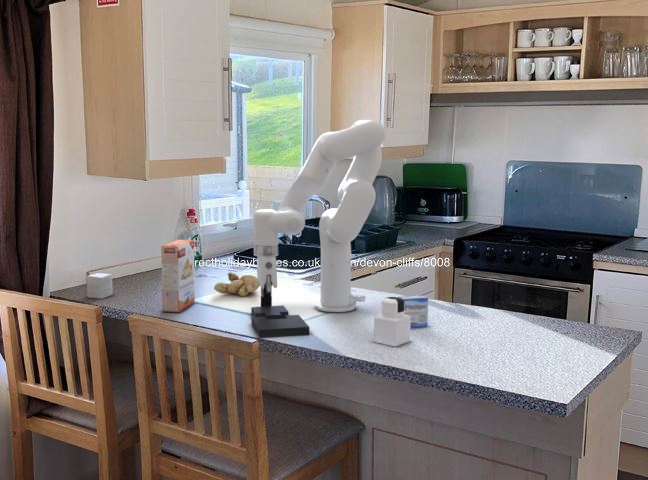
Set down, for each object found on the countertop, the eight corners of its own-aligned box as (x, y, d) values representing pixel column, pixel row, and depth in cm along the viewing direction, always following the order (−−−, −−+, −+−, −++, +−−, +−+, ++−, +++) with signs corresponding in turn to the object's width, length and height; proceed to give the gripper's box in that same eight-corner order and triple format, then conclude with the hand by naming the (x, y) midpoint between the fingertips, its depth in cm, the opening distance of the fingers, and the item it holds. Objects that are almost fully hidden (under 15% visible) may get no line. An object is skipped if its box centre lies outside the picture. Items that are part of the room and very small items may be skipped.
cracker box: (180, 313, 234) (178, 246, 231) (161, 312, 236) (159, 245, 232) (196, 302, 248) (194, 239, 244) (179, 302, 249) (177, 238, 245)
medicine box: (402, 328, 217) (402, 299, 216) (396, 325, 222) (397, 295, 220) (427, 327, 219) (428, 297, 218) (421, 323, 224) (422, 294, 222)
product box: (98, 293, 261) (97, 272, 259) (113, 295, 259) (112, 274, 257) (87, 297, 255) (86, 276, 254) (102, 299, 253) (101, 277, 252)
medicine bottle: (388, 336, 209) (389, 294, 207) (410, 341, 205) (411, 297, 203) (373, 342, 204) (374, 298, 202) (395, 347, 200) (396, 302, 197)
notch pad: (298, 321, 225) (298, 314, 224) (309, 334, 211) (309, 326, 211) (251, 324, 221) (251, 317, 221) (259, 337, 208) (259, 329, 208)
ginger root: (271, 285, 268) (268, 264, 265) (257, 306, 254) (254, 284, 251) (229, 284, 272) (226, 263, 269) (213, 304, 258) (210, 283, 255)
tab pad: (283, 312, 236) (283, 305, 236) (290, 321, 225) (290, 314, 225) (251, 314, 234) (251, 307, 233) (257, 323, 223) (257, 315, 223)
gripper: (282, 254, 227) (282, 314, 230) (274, 246, 241) (274, 302, 244) (257, 254, 225) (257, 315, 228) (250, 246, 239) (250, 303, 242)
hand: (266, 308), depth 236 cm, fingers closed
